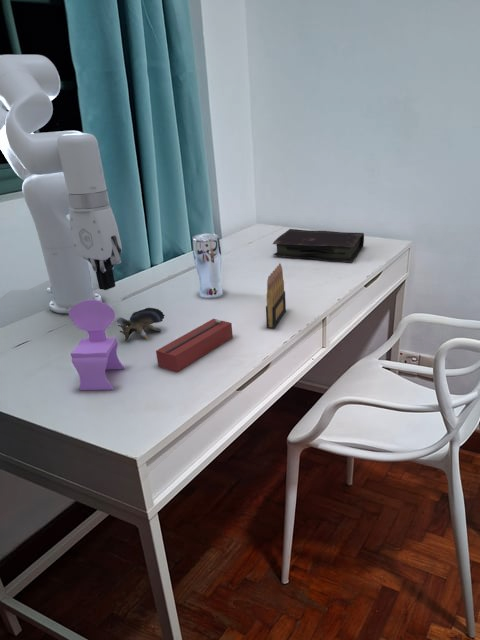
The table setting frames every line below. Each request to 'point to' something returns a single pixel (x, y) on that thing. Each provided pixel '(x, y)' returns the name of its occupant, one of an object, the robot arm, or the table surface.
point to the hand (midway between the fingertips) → (107, 287)
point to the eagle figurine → (140, 322)
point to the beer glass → (208, 264)
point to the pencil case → (194, 345)
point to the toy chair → (94, 344)
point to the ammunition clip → (275, 298)
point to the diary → (319, 245)
